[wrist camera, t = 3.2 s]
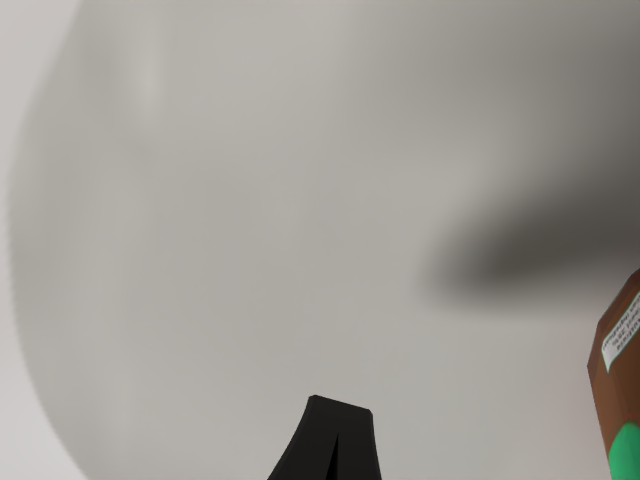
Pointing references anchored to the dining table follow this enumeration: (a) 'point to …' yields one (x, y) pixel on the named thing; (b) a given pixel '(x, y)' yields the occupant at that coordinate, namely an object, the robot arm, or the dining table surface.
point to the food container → (619, 380)
